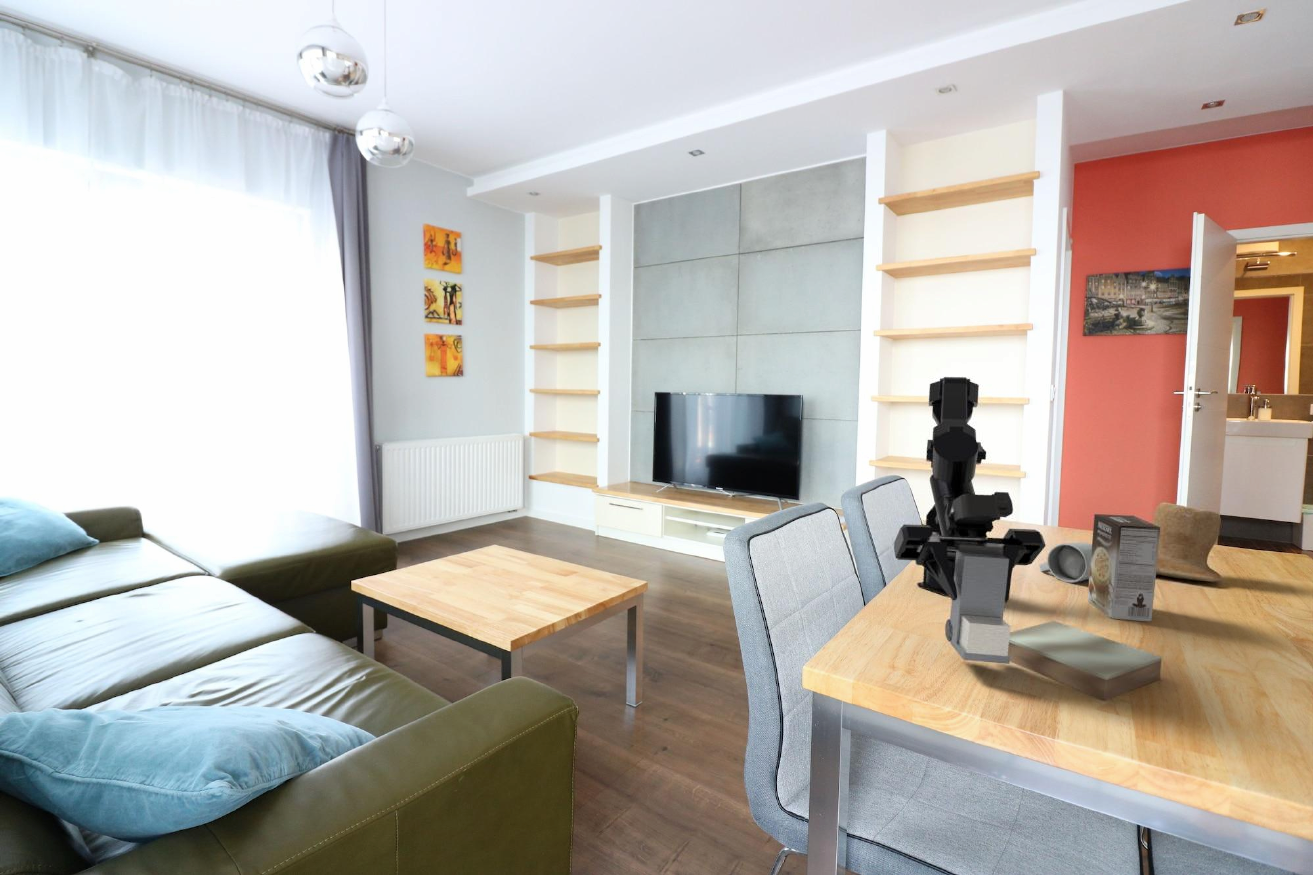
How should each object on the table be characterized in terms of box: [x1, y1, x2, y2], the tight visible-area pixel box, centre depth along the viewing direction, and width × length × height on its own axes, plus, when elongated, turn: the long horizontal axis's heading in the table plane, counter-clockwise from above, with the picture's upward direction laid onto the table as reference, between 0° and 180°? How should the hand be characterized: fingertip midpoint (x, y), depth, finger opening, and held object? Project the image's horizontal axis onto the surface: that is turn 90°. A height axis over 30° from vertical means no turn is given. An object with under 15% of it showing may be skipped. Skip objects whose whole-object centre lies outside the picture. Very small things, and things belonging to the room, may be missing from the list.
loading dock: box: [1008, 620, 1163, 701], centre depth 86 cm, size 14×13×3 cm
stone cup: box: [1152, 502, 1222, 582], centre depth 130 cm, size 15×12×15 cm
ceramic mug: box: [1038, 542, 1092, 584], centre depth 128 cm, size 11×8×8 cm
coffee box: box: [1087, 513, 1161, 622], centre depth 108 cm, size 9×6×16 cm
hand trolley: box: [944, 541, 1012, 665], centre depth 85 cm, size 8×6×14 cm
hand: (980, 600), depth 84 cm, fingers closed on hand trolley, 6 cm apart
